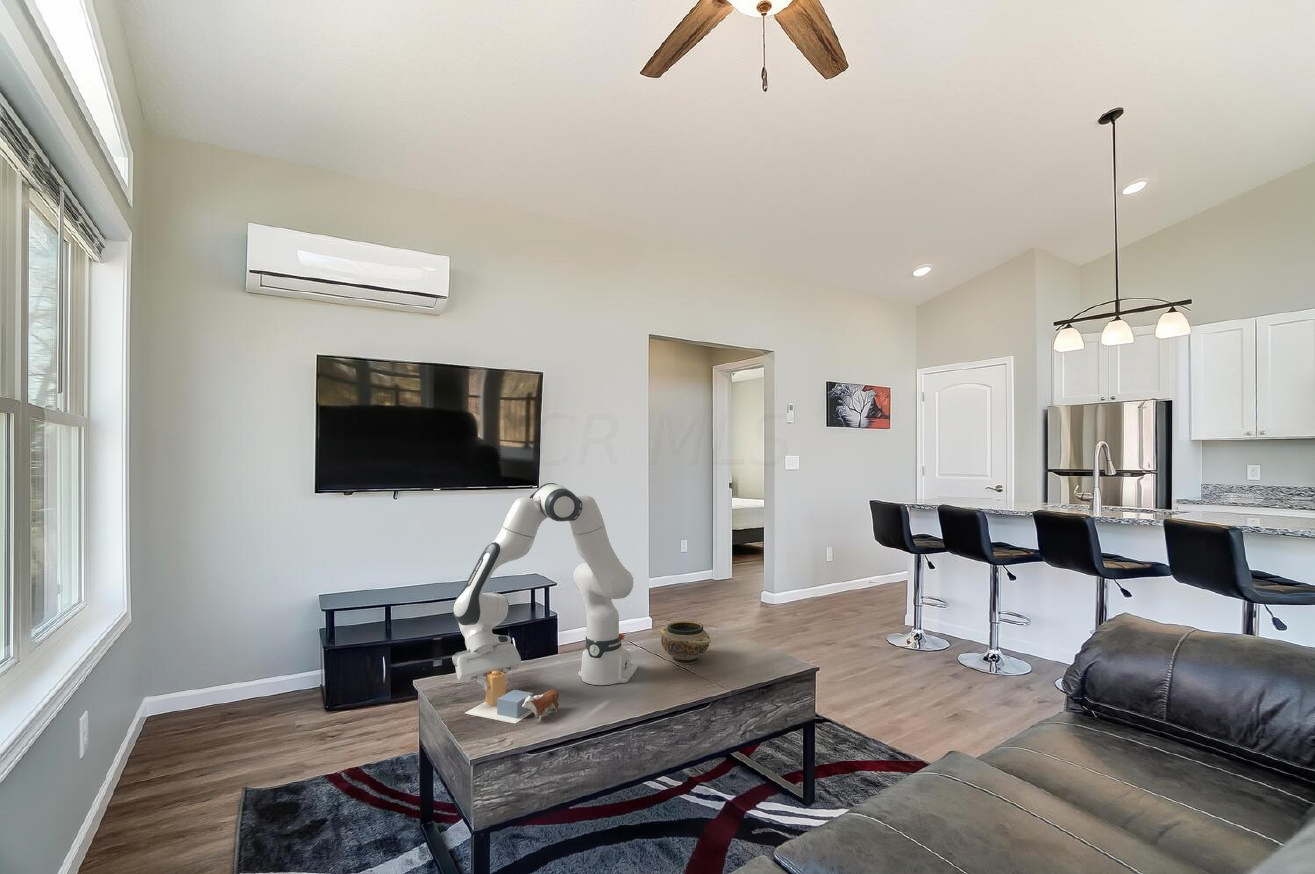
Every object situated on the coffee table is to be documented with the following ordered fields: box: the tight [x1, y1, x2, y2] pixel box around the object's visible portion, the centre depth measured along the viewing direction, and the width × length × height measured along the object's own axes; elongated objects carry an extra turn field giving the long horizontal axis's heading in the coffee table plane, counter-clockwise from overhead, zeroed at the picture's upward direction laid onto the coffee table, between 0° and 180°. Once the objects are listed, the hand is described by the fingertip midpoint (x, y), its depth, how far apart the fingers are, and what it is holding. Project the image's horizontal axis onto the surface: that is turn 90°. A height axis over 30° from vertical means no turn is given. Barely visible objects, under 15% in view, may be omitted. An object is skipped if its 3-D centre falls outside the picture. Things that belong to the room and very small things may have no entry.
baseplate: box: [464, 700, 533, 724], centre depth 191 cm, size 17×18×1 cm
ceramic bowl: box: [659, 620, 712, 665], centre depth 237 cm, size 24×18×15 cm
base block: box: [497, 689, 534, 718], centre depth 188 cm, size 8×7×4 cm
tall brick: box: [485, 670, 507, 707], centre depth 195 cm, size 4×4×9 cm
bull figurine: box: [522, 688, 559, 721], centre depth 185 cm, size 4×13×8 cm, turn 146°
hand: (496, 686), depth 194 cm, fingers closed on tall brick, 4 cm apart
